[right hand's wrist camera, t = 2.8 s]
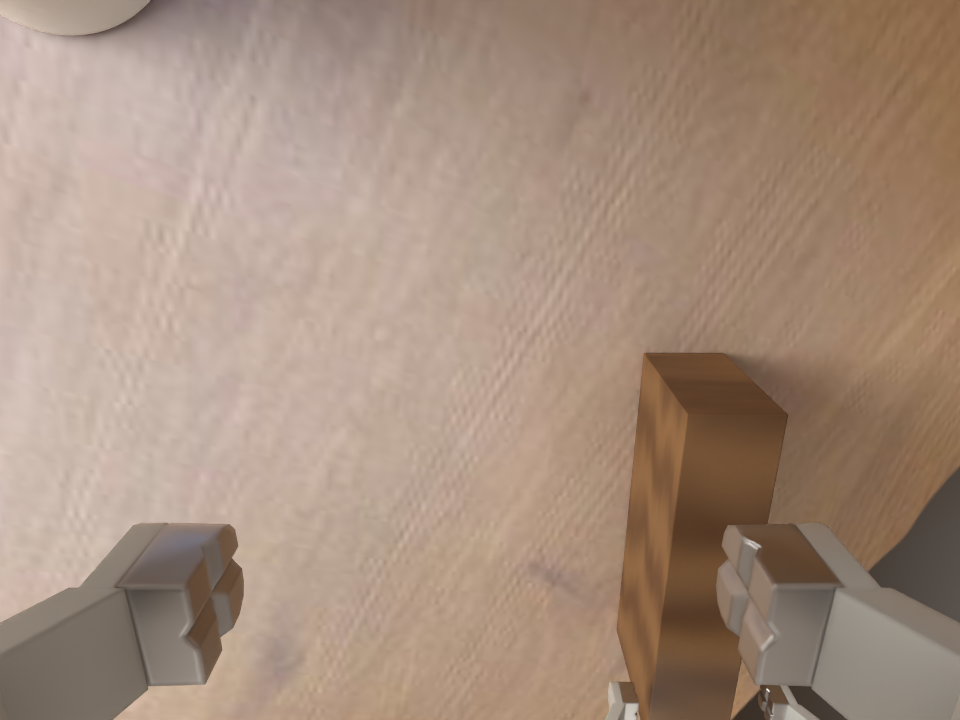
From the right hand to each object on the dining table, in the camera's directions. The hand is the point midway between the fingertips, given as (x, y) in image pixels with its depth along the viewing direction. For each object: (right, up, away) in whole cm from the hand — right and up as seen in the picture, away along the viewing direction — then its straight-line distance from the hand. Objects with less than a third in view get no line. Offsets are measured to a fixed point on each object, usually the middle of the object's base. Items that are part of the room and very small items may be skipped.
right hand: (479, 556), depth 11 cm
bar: (+13, -7, +35) cm, 38 cm away
